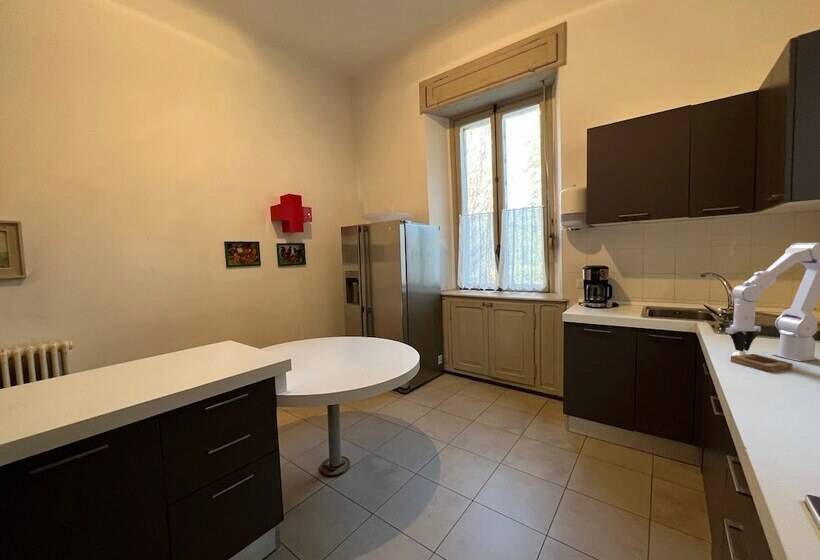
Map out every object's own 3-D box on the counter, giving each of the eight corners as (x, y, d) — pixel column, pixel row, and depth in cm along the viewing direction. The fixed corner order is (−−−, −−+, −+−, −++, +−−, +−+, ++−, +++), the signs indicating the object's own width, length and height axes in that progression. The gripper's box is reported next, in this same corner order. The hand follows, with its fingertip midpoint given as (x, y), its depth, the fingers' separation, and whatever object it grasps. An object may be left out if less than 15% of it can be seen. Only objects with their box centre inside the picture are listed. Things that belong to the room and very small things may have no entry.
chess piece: (754, 358, 124) (755, 333, 123) (739, 358, 125) (740, 332, 124) (743, 354, 129) (745, 329, 128) (729, 353, 130) (730, 329, 129)
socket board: (753, 358, 124) (753, 353, 124) (791, 369, 113) (792, 363, 113) (730, 361, 122) (730, 356, 122) (767, 372, 111) (768, 366, 111)
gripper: (746, 313, 131) (744, 345, 132) (717, 315, 128) (715, 348, 129) (768, 316, 124) (766, 350, 125) (738, 319, 121) (736, 354, 123)
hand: (741, 350), depth 127 cm, fingers closed on chess piece
